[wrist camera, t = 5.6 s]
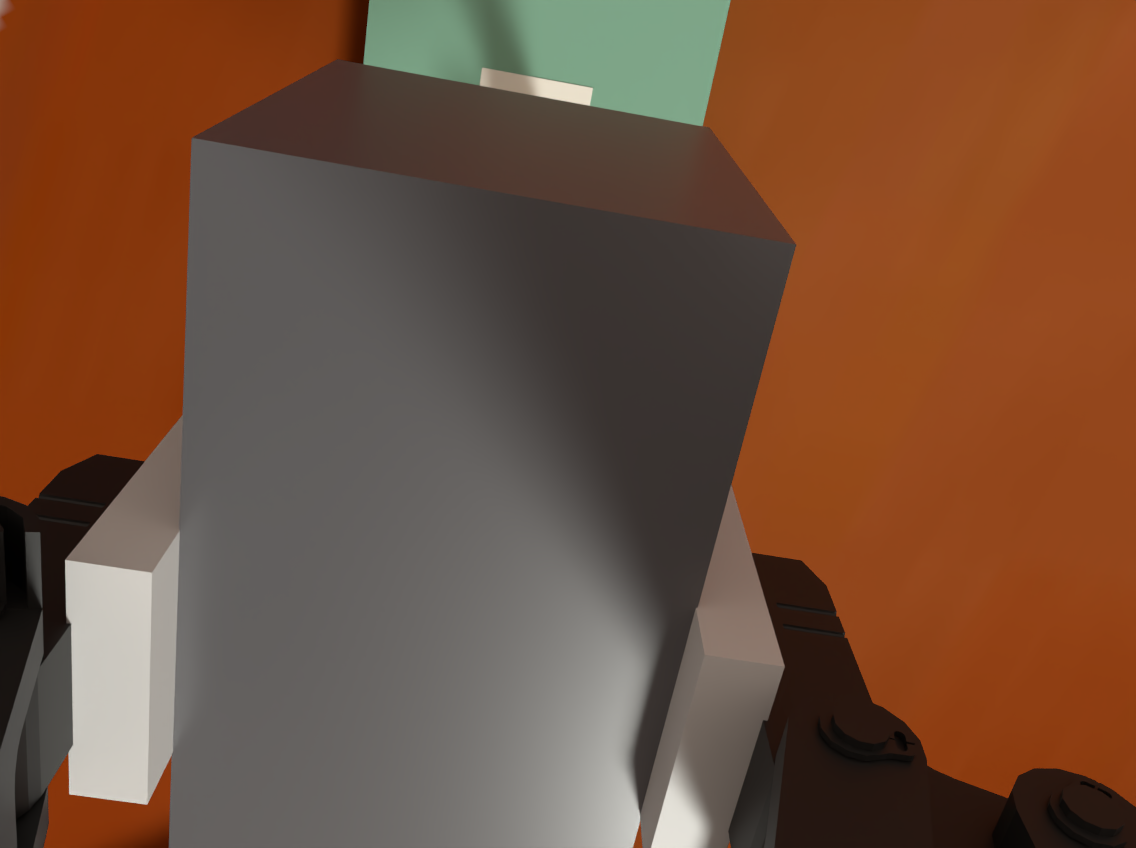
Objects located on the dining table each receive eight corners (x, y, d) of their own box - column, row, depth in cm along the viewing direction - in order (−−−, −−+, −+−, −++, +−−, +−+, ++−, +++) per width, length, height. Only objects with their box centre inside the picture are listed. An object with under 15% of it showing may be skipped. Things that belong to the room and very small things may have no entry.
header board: (335, 445, 30) (295, 535, 26) (388, -96, 25) (349, -104, 20) (613, 489, 31) (622, 583, 26) (727, -30, 25) (763, -23, 21)
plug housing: (539, 881, 20) (528, 1233, 15) (270, 846, 20) (157, 1194, 14) (709, 127, 14) (796, 244, 9) (337, 59, 14) (191, 137, 9)
